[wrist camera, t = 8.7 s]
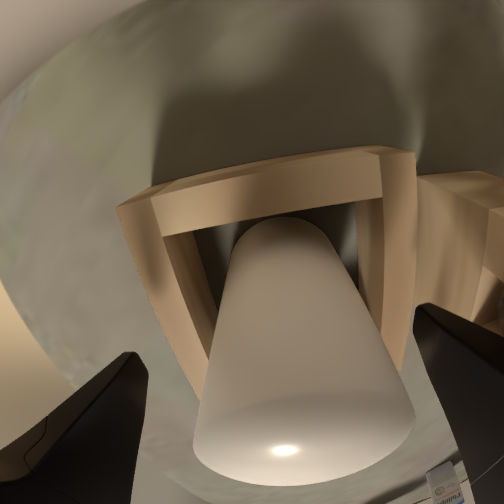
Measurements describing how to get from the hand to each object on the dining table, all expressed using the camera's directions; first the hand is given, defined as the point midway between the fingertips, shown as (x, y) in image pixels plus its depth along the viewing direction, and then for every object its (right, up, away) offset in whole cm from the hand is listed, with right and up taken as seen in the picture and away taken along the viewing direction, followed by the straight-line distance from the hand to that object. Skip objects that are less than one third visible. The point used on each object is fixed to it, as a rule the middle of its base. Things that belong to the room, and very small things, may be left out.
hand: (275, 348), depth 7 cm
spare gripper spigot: (+1, +2, +4) cm, 5 cm away
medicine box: (+28, -31, +18) cm, 46 cm away
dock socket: (+3, +2, +4) cm, 6 cm away
